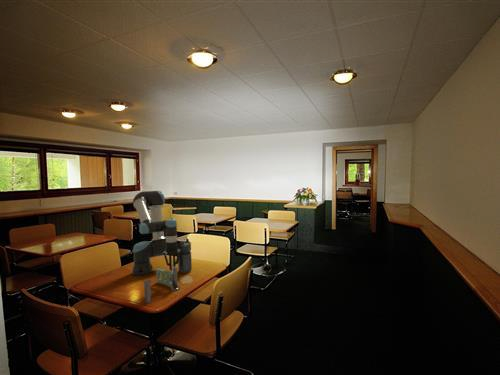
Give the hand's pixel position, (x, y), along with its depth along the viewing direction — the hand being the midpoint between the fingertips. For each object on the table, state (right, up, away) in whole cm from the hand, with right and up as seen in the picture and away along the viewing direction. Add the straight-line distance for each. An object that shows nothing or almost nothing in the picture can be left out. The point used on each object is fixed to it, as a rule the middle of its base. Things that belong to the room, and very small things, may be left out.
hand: (172, 274), depth 174 cm
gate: (-4, -5, -4) cm, 7 cm away
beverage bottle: (+3, -5, +21) cm, 21 cm away
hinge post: (+5, -6, -9) cm, 12 cm away
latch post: (-6, -7, -27) cm, 28 cm away
